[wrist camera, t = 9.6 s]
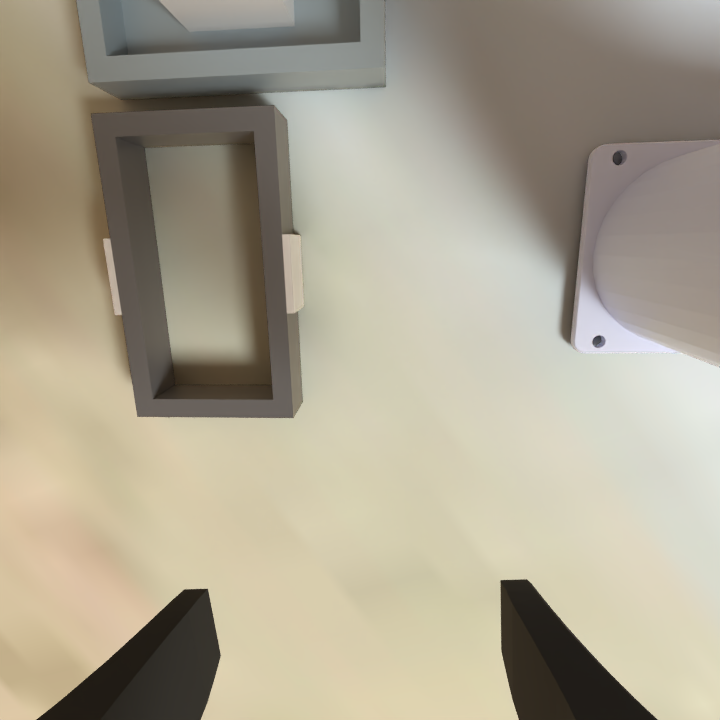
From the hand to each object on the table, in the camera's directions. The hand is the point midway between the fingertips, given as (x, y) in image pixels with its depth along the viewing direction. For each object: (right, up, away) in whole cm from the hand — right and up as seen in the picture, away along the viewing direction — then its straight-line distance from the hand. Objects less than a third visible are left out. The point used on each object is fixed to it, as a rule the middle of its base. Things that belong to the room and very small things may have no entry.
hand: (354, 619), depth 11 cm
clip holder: (-6, +10, +9) cm, 15 cm away
